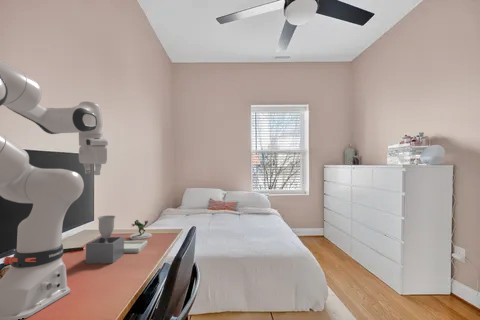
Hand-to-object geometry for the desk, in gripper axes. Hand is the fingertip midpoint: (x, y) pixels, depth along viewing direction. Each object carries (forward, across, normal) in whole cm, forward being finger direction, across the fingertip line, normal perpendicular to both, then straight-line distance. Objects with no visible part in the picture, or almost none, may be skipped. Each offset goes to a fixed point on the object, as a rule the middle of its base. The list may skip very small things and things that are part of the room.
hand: (92, 174), depth 108 cm
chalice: (+37, +2, +3) cm, 37 cm away
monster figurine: (+40, -20, +32) cm, 55 cm away
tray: (+38, -4, +17) cm, 42 cm away
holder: (+37, +2, +3) cm, 37 cm away
